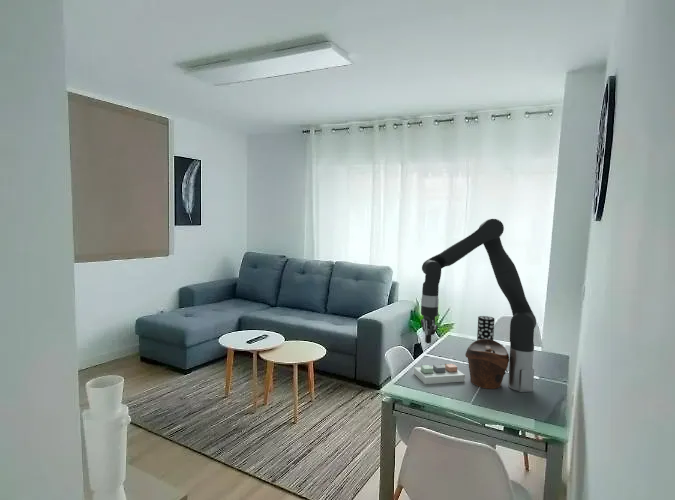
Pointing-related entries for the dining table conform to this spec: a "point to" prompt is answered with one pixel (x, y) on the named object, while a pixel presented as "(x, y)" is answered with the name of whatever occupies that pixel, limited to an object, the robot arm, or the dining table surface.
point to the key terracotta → (450, 367)
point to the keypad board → (439, 376)
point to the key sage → (427, 369)
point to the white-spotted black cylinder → (485, 328)
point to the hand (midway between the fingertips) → (428, 342)
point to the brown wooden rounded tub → (487, 363)
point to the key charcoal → (438, 368)
